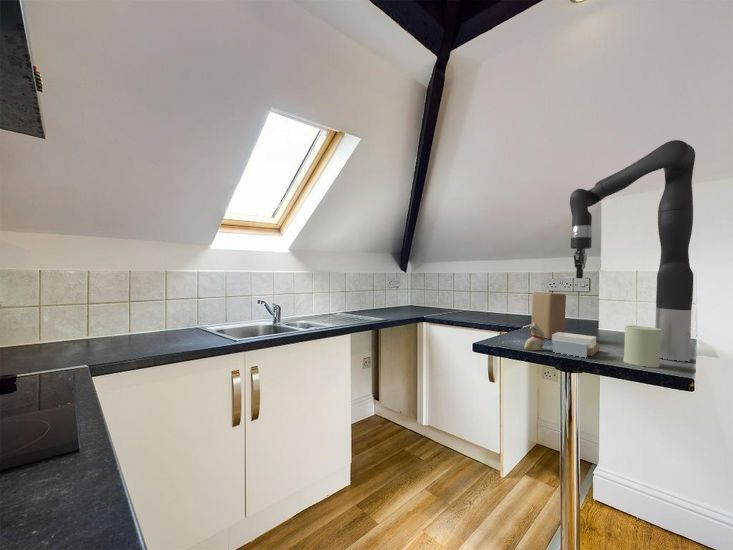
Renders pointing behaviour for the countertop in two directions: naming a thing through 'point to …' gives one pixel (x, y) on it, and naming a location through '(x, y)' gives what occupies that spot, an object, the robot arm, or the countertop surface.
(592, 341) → the slab
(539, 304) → the wooden block
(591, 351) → the roller
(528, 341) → the chocolate bunny
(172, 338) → the countertop surface
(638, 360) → the can
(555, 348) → the rail
